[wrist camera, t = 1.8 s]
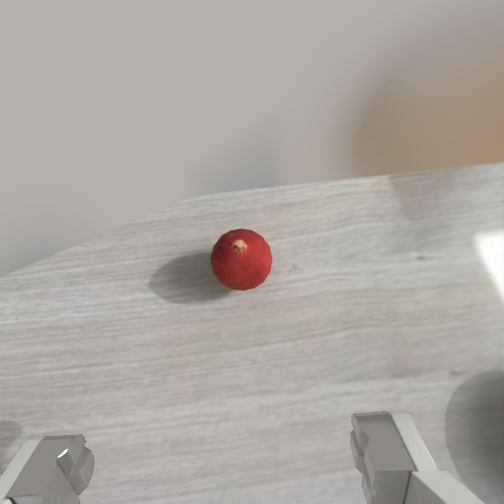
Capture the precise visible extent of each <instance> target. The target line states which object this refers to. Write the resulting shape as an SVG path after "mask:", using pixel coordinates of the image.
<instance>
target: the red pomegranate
mask: <svg viewBox="0 0 504 504" xmlns="http://www.w3.org/2000/svg"><path fill="white" fill-rule="evenodd" d="M210 259H211V264H212V268H213V273H214V274H215V276H216V277H217V278H218V279H219V281H220V282H221V283H222V284H224V285H226V286H228V287H229V288H231V289H237V290H243V291H244V290H248V289H253V288H255V287H257V286H258V285H260V284H261V283H263V282H264V281H265V279H266V277H267V276H268V274H269V273H270V270H271V264H272V255H271V251H270V247H269V245H268V244H267V242H266V241H265V240H264V238H263V237H262V236H260V235H259V234H257V233H255V232H254V231H252V230H246V229H237V230H231V231H229V232H227V233H226V234H224V235H222V236H221V237H220V239H219V240H218V241H217V242H216V244H215V245H214V247H213V251H212V254H211V258H210Z"/></svg>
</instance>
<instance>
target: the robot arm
mask: <svg viewBox="0 0 504 504" xmlns="http://www.w3.org/2000/svg"><path fill="white" fill-rule="evenodd" d="M351 423H352V426H353V429H354V430H353V431H352V432H351V448H352V454H353V458H354V461H355V465H356V468H357V469H358V470H359V471H360V472H361V473H362V474H363V476H362V488H363V491H364V494H365V498H366V501H367V504H485V503H484V502H483V501H481V500H480V499H479V498H478V497H477V496H475V495H474V494H473V493H472V492H471V491H469V490H468V489H467V488H466V487H464V486H463V485H462V484H461V483H460V482H458V481H457V480H456V479H455V478H454V477H452V476H451V475H450V474H449V473H448V472H446V471H445V470H444V469H441V470H438V468H437V467H436V465H435V463H434V461H433V459H432V457H431V455H430V453H429V452H428V450H427V448H426V446H425V444H424V442H423V440H422V438H421V437H420V435H419V433H418V431H417V429H416V427H415V425H414V423H413V422H412V420H411V418H410V416H409V414H408V413H407V412H406V411H403V410H401V411H391V412H386V411H383V412H372V413H361V414H353V416H352V421H351ZM85 443H86V440H85V438H84V436H83V435H82V434H79V435H61V436H41V437H30V438H29V439H27V440H26V441H25V442H24V443H23V444H22V445H21V447H20V448H19V450H18V451H17V453H16V454H15V456H14V457H13V459H12V460H11V462H10V463H9V465H8V466H7V468H6V469H5V470H4V472H3V473H2V475H1V476H0V504H80V500H79V494H80V493H81V492H82V491H83V490H84V489H85V488H86V487H87V486H88V484H89V482H90V479H91V477H92V473H93V468H94V457H93V454H92V452H91V450H89V449H87V448H86V447H84V445H85Z"/></svg>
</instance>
